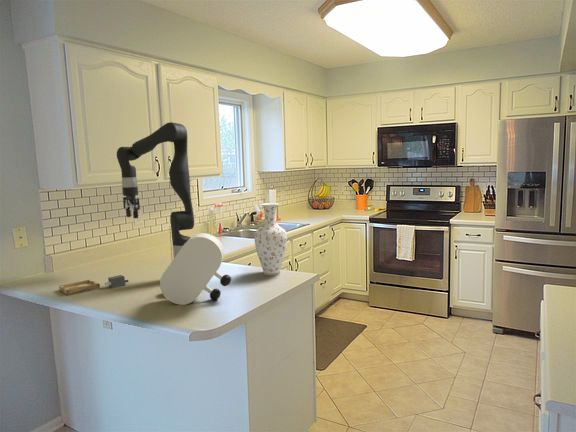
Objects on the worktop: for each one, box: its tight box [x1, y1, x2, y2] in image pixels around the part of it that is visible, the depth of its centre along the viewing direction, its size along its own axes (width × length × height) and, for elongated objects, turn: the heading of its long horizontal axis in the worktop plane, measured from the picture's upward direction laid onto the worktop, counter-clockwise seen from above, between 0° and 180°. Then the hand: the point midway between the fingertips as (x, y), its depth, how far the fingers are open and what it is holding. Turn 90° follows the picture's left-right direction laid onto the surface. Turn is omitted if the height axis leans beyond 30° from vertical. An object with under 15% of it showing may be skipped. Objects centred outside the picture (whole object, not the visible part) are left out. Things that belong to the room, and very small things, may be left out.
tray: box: [58, 279, 101, 296], centre depth 203 cm, size 11×14×2 cm
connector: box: [104, 274, 129, 289], centre depth 207 cm, size 4×11×4 cm, turn 134°
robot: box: [159, 232, 232, 306], centre depth 181 cm, size 30×9×24 cm
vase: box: [254, 202, 288, 276], centre depth 220 cm, size 16×16×35 cm
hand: (132, 217), depth 229 cm, fingers open, 8 cm apart
